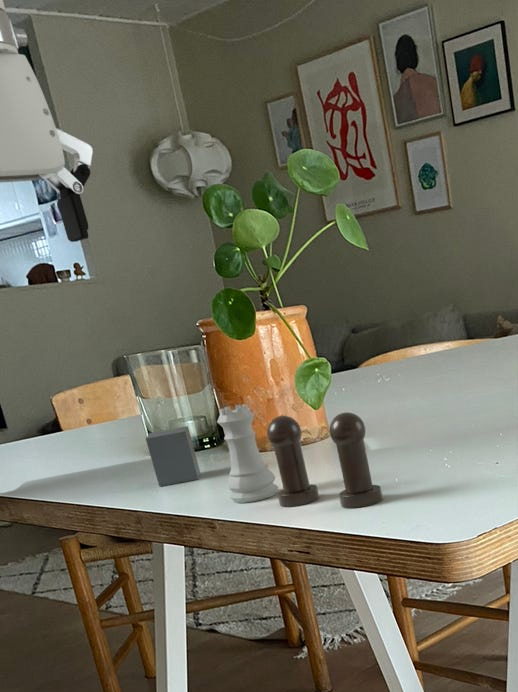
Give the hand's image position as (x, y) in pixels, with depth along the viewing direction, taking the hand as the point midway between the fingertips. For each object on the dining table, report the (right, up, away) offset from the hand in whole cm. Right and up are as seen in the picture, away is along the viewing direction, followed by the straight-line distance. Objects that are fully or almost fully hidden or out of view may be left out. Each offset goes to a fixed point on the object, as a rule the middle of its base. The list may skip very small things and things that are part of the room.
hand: (32, 244), depth 90 cm
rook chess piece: (+23, -26, -7) cm, 35 cm away
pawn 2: (+34, -27, -15) cm, 46 cm away
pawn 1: (+28, -27, -11) cm, 40 cm away
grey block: (+12, -22, +8) cm, 26 cm away
